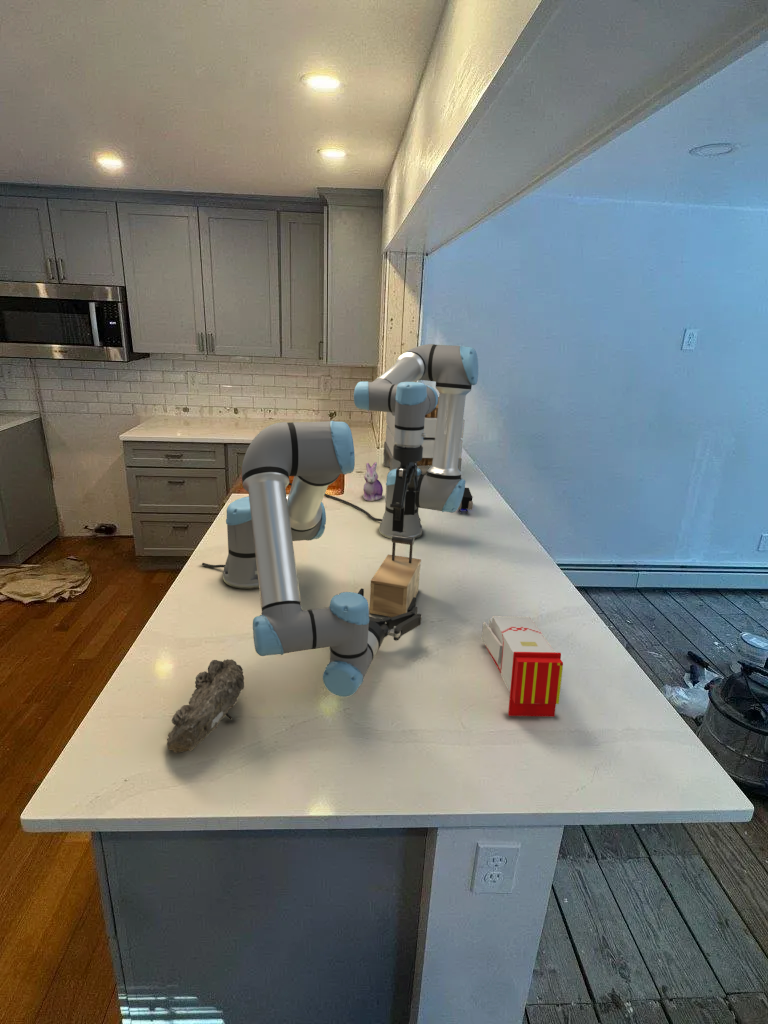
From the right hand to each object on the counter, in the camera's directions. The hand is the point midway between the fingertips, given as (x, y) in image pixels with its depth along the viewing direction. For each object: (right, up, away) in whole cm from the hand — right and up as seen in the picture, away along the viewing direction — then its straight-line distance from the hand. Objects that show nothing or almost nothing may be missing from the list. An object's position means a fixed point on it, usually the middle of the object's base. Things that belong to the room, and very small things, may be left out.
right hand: (403, 522), depth 152 cm
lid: (-2, -13, -1) cm, 13 cm away
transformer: (+12, +22, +123) cm, 126 cm away
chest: (-2, -21, +2) cm, 22 cm away
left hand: (-4, -19, -9) cm, 21 cm away
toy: (+23, -33, -27) cm, 49 cm away
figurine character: (+26, +4, +76) cm, 80 cm away
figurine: (-10, +9, +84) cm, 85 cm away
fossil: (-38, -36, -44) cm, 68 cm away
